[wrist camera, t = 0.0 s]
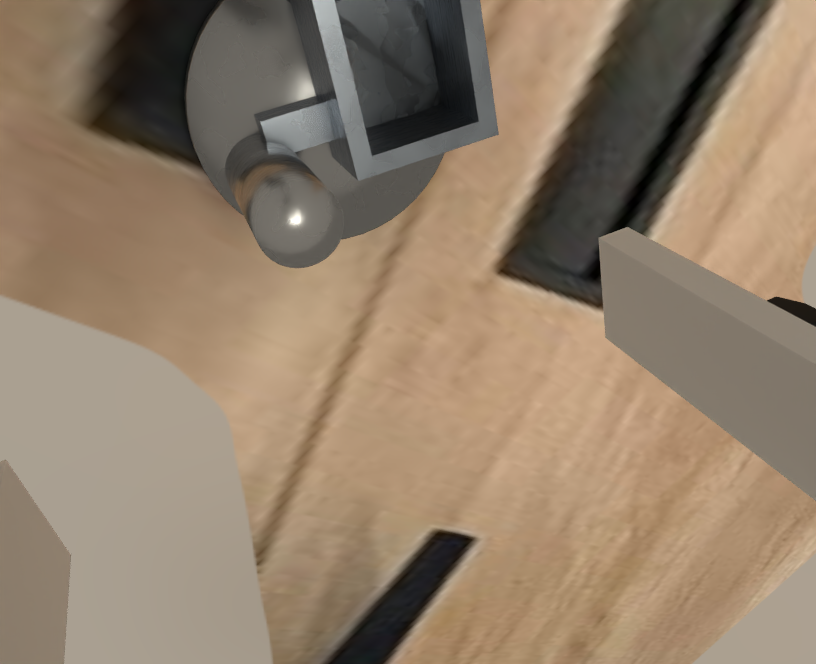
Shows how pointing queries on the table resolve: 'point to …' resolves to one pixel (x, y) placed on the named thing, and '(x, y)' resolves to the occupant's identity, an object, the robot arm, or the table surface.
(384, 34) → the bracket
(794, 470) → the robot arm
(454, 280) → the table surface
